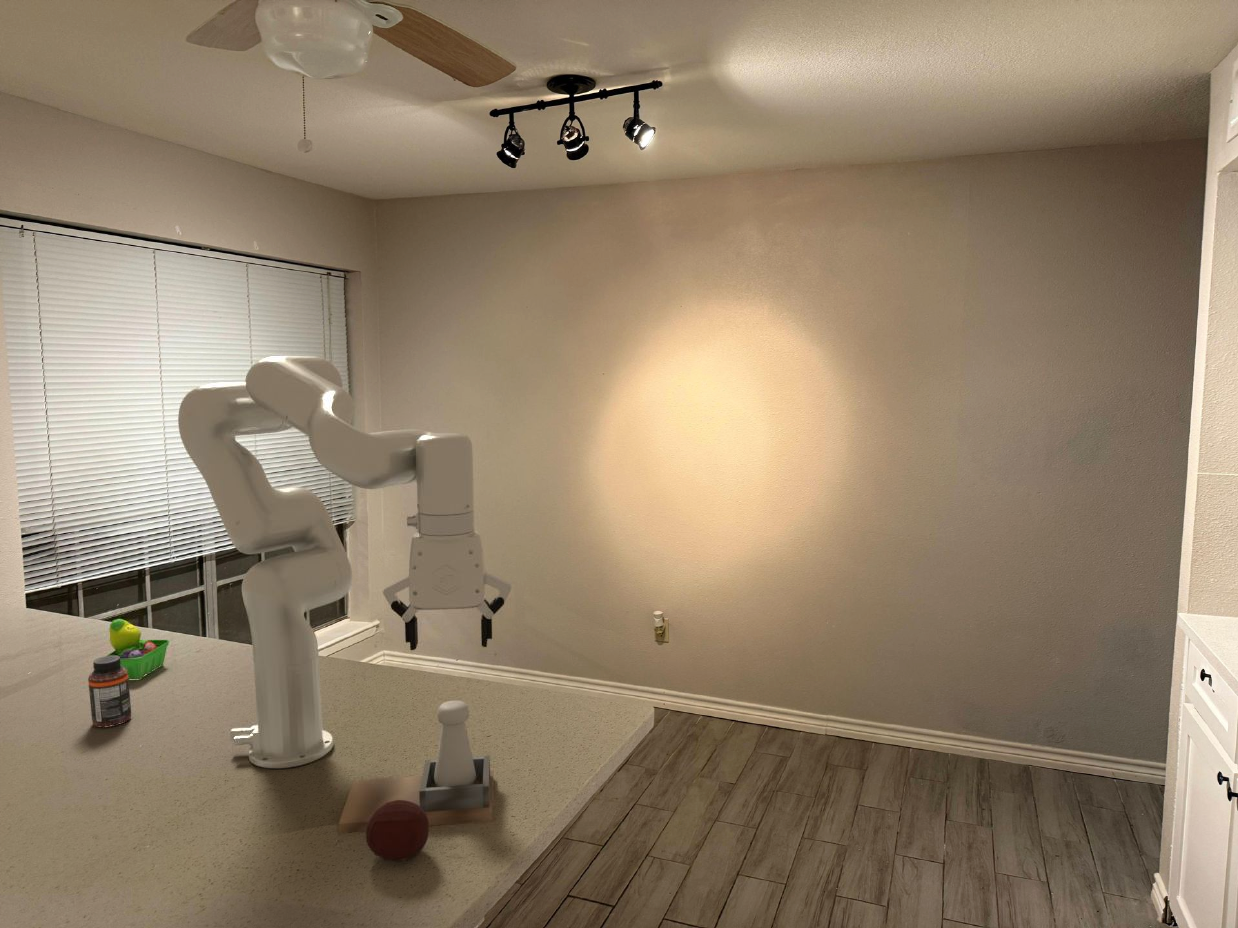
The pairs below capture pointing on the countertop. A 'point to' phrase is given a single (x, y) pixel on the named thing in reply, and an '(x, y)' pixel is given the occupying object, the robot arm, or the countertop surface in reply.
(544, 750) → the countertop surface
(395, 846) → the dark red ball
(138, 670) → the fruit basket
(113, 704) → the supplement bottle
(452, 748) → the salt shaker
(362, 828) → the shaker caddy
